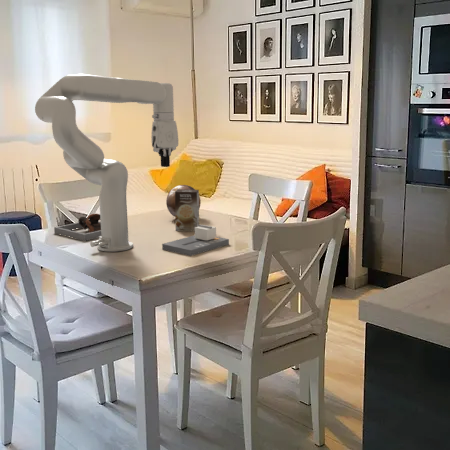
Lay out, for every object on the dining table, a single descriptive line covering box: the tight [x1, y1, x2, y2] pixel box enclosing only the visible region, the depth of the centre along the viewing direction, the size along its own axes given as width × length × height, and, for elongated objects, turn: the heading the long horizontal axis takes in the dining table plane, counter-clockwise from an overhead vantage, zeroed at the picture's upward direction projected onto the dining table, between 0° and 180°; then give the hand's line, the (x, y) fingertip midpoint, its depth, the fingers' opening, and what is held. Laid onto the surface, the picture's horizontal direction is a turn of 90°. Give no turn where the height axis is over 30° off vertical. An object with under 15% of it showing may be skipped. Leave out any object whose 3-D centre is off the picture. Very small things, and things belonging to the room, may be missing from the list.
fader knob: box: [194, 224, 217, 240], centre depth 216 cm, size 5×6×5 cm
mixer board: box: [161, 234, 230, 257], centre depth 213 cm, size 20×14×2 cm
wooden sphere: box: [165, 184, 202, 217], centre depth 260 cm, size 15×15×15 cm
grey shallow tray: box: [53, 220, 101, 242], centre depth 237 cm, size 18×20×2 cm
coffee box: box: [174, 189, 200, 232], centre depth 239 cm, size 9×6×16 cm
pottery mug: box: [77, 213, 101, 233], centre depth 239 cm, size 12×10×8 cm
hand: (165, 166), depth 224 cm, fingers closed
